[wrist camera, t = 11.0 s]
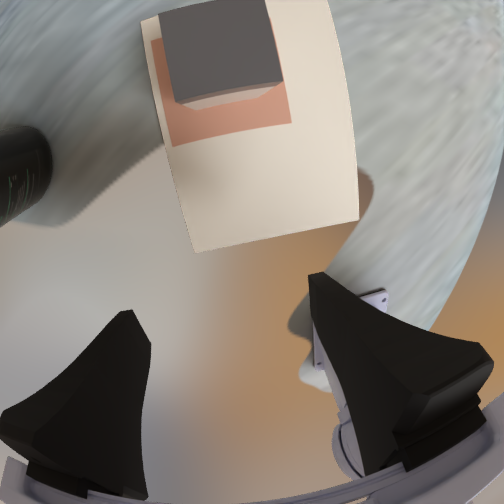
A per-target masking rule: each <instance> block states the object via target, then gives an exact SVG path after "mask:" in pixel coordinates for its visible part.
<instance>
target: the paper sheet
mask: <svg viewBox="0 0 504 504" xmlns="http://www.w3.org/2000/svg"><path fill="white" fill-rule="evenodd" d="M265 3H266V7H267V11H268V15H269V19H270V23H271V27H272V31H273V35H274V39H275V44H276V48H277V53H278V57H279V62H280V66H281V71H282V76H283V82H281V83H280V84H278V85H277V86H275V87H273V88H272V89H270V90H269V91H267V92H266V93H264V94H263V95H261V96H260V97H258V98H255V99H249V100H243V101H238V102H232V103H227V104H222V105H218V106H213V107H209V108H204V109H200V110H194V109H191V108H189V107H186V106H184V105H181V104H179V103H176V102H175V99H174V95H173V90H172V85H171V81H170V76H169V71H168V66H167V61H166V56H165V50H164V45H163V40H162V34H161V28H160V23H159V17H158V16H155V17H152V18H149V19H146V20H143V21H141V28H142V35H143V41H144V47H145V53H146V58H147V64H148V69H149V75H150V80H151V85H152V90H153V95H154V100H155V104H156V109H157V114H158V118H159V123H160V127H161V131H162V136H163V140H164V144H165V148H166V152H167V156H168V160H169V164H170V168H171V172H172V176H173V179H174V183H175V187H176V191H177V194H178V198H179V202H180V205H181V208H182V212H183V216H184V219H185V223H186V226H187V230H188V233H189V236H190V240H191V243H192V246H193V249H194V253H200V252H205V251H210V250H214V249H219V248H224V247H228V246H233V245H238V244H243V243H247V242H252V241H257V240H262V239H266V238H271V237H276V236H281V235H286V234H291V233H296V232H301V231H306V230H310V229H316V228H321V227H325V226H330V225H336V224H341V223H346V222H350V221H356V220H359V197H358V178H357V163H356V152H355V141H354V132H353V124H352V116H351V108H350V102H349V95H348V89H347V83H346V77H345V72H344V67H343V62H342V57H341V52H340V48H339V43H338V39H337V35H336V31H335V27H334V23H333V19H332V16H331V12H330V9H329V5H328V2H327V0H265Z"/></svg>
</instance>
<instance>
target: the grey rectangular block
mask: <svg viewBox="0 0 504 504" xmlns="http://www.w3.org/2000/svg"><path fill="white" fill-rule="evenodd" d="M158 17H159V23H160V28H161V34H162V40H163V45H164V50H165V56H166V61H167V66H168V71H169V76H170V81H171V85H172V90H173V95H174V99H175V102H176V103H179V104H181V105H184V106H186V107H189V108H191V109H194V110H200V109H204V108H209V107H213V106H218V105H222V104H227V103H232V102H238V101H243V100H249V99H255V98H258V97H260V96H261V95H263V94H264V93H266V92H267V91H269V90H270V89H272V88H273V87H275V86H277V85H278V84H280V83H281V82H283V76H282V71H281V66H280V62H279V57H278V53H277V48H276V44H275V39H274V35H273V31H272V27H271V23H270V19H269V15H268V11H267V7H266V3H265V0H214V1H209V2H204V3H199V4H194V5H190V6H185V7H181V8H178V9H174V10H170V11H167V12H163V13H160V14H158Z"/></svg>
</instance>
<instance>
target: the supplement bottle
mask: <svg viewBox="0 0 504 504" xmlns="http://www.w3.org/2000/svg"><path fill="white" fill-rule="evenodd" d="M51 174H52V157H51V152H50V148H49V146H48V143H47V141H46V139H45V138H44V136H43V135H42V134H41V133H40V132H39V131H38V130H36V129H34V128H32V127H27V126H23V127H16V128H10V129H5V130H1V131H0V227H2V226H3V225H5V224H6V223H7V222H9V221H10V220H12V219H13V218H15V217H16V216H18V215H19V214H21V213H22V212H24V211H25V210H27V209H28V208H30V207H31V206H33V205H34V204H36V203H37V202H38V201H39V200H40V199H41V198H42V197H43V196H44V194H45V192H46V191H47V189H48V186H49V183H50V179H51Z"/></svg>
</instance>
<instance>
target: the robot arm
mask: <svg viewBox="0 0 504 504" xmlns="http://www.w3.org/2000/svg"><path fill="white" fill-rule="evenodd" d="M308 282H309V295H310V309H311V317H312V320H313V339H314V367H315V370H316V371H321V370H325V373H326V376H327V378H328V381H329V384H330V387H331V389H332V392H333V395H334V398H335V400H336V403H337V406H338V408H339V410H340V412H338V417H339V420H340V424H338V425H337V426H336V427H335V429H334V431H333V438H332V450H333V454H334V457H335V460H336V462H337V464H338V466H339V467H340V468H341V470H342V471H343V472H344V474H346V475H347V476H348V477H349V478H351V479H352V480H353V481H351V482H348V483H345V484H342V485H338V486H335V487H331V488H328V489H324V490H320V491H316V492H312V493H307V494H303V495H298V496H294V497H288V498H282V499H275V500H269V501H261V502H253V503H241V504H346V503H349V502H352V501H355V500H358V499H361V498H364V497H367V499H366V501H363V502H360V503H357V504H473V502H472V499H473V498H474V497H475V496H477V495H478V494H479V493H480V492H481V491H482V490H483V489H485V488H486V487H487V486H488V485H489V484H490V483H491V482H492V481H494V480H495V479H496V478H497V477H498V476H499V475H500V474H501V473H502V472H503V471H504V392H503V393H502V394H501V395H499V396H498V397H497V398H496V399H494V400H493V401H492V402H491V403H489V404H488V405H487V406H486V407H485V408H484V409H483V410H482V411H481V410H480V408H479V407H478V405H479V404H480V402H481V400H480V398H479V396H478V395H477V393H478V392H479V390H480V389H481V387H482V386H483V385H484V383H485V382H486V380H487V379H488V377H489V376H490V374H491V372H492V370H493V367H494V361H493V360H492V358H491V357H490V356H489V354H488V353H487V352H486V351H485V349H484V348H483V347H482V346H481V345H480V343H478V342H472V341H466V340H461V339H455V338H450V337H446V336H443V335H439V334H436V333H432V332H429V331H426V330H423V329H421V328H418V327H415V326H413V325H410V324H408V323H405V322H403V321H401V320H399V319H397V318H394V317H392V316H390V315H388V314H386V309H387V303H388V296H389V293H388V292H387V291H386V290H383V291H379V292H376V293H373V294H369V295H366V296H362V297H358V296H356V295H355V294H353V293H352V292H350V291H349V290H347V289H346V288H345V287H343V286H342V285H341V284H339V283H338V282H336V281H335V280H334V279H332V278H331V277H330V276H328V275H327V274H325V273H324V272H319V273H315V274H311V275H308ZM150 360H151V342H150V341H149V339H148V338H147V336H146V334H145V332H144V330H143V328H142V327H141V325H140V323H139V321H138V319H137V317H136V315H135V314H134V312H133V310H126V311H120V312H119V313H118V314H117V315H116V316H115V317H114V318H113V319H112V320H111V321H110V322H109V323H108V324H107V325H106V326H105V328H104V329H103V330H102V331H101V332H100V333H99V334H98V335H97V336H96V338H95V339H94V340H93V341H92V342H91V343H90V344H89V345H88V346H87V348H86V349H85V350H84V351H83V352H82V353H81V354H80V355H79V356H78V357H77V358H76V359H75V360H74V361H73V362H72V363H71V364H70V365H69V366H68V367H67V368H66V369H65V370H64V371H63V372H62V373H61V374H59V375H58V376H57V377H56V378H55V379H53V380H52V381H51V382H49V383H48V384H47V385H46V386H44V387H43V388H42V389H40V390H39V391H37V392H36V393H35V394H33V395H31V396H30V397H28V398H27V399H25V400H23V401H22V402H20V403H18V404H16V405H14V406H12V407H10V408H8V409H6V410H4V411H3V412H2V414H1V417H0V439H1V440H2V441H3V442H4V443H5V444H6V445H8V446H9V447H10V448H12V449H13V450H14V451H16V452H17V453H18V454H20V455H21V456H23V457H24V458H26V459H27V460H29V463H28V465H25V464H24V463H22V462H20V461H18V460H16V459H14V458H11V457H10V456H8V457H7V461H6V465H5V469H4V473H3V477H2V481H1V487H0V500H1V501H3V502H4V503H6V504H169V503H158V502H149V501H144V500H146V499H147V498H148V493H147V488H146V482H145V477H144V470H143V461H142V446H141V417H142V407H143V401H144V396H145V390H146V385H147V379H148V374H149V368H150Z"/></svg>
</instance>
